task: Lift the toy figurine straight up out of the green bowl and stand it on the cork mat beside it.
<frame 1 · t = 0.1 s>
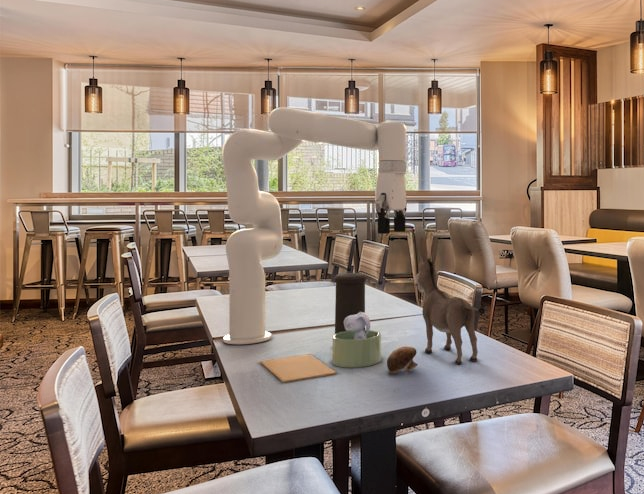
hand: (391, 232, 166), 31 cm above the table, tool pointing down, fingers open, 9 cm apart
toy figurine: (356, 360, 154), resting on green bowl
green bowl: (356, 361, 154), on the table
mat: (297, 368, 148), on the table
container: (350, 347, 169), on the table
mushroom: (401, 372, 144), on the table
toy: (448, 355, 159), on the table
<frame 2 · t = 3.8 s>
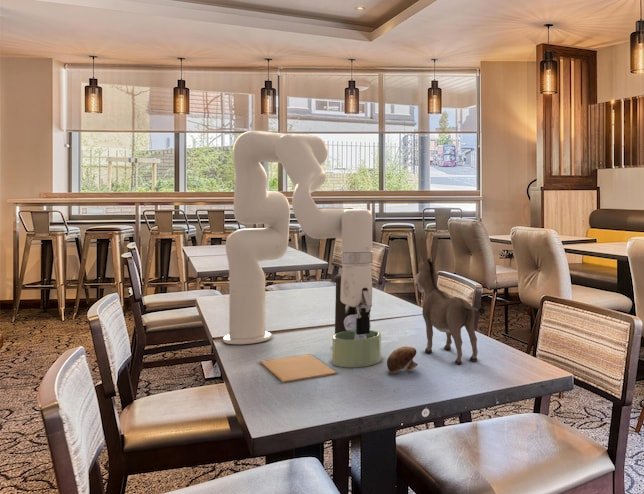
hand: (357, 330, 154), 8 cm above the table, tool pointing down, fingers closed on toy figurine, 6 cm apart
toy figurine: (356, 360, 154), resting on green bowl, touching gripper
everything else where it was.
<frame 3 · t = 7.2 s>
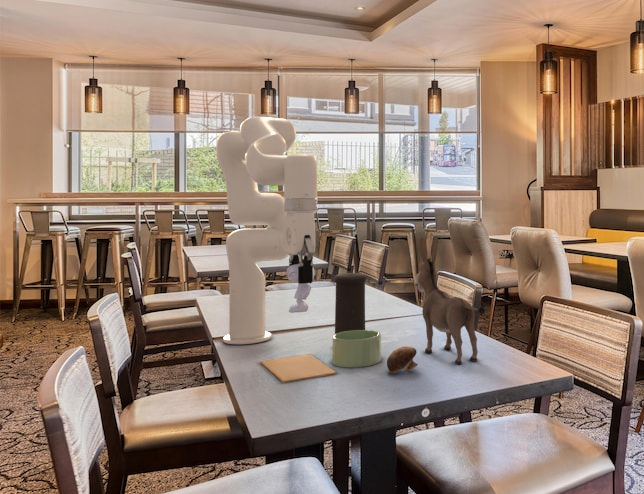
hand: (300, 280, 148), 21 cm above the table, tool pointing down, fingers closed on toy figurine, 6 cm apart
toy figurine: (300, 311, 148), point 13 cm above the table, touching gripper
everything else where it was.
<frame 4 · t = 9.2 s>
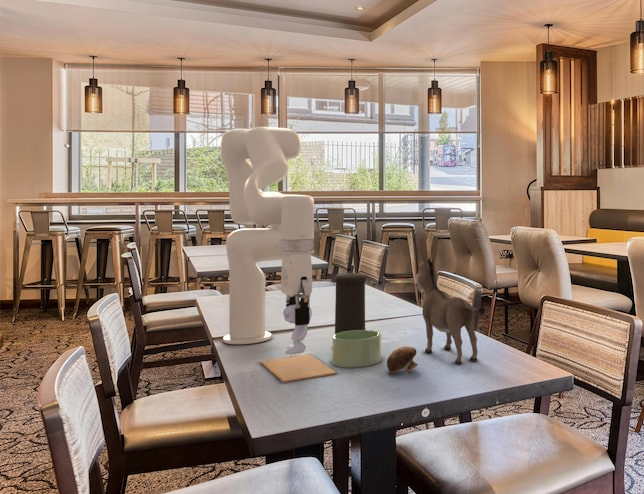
hand: (297, 321, 148), 11 cm above the table, tool pointing down, fingers closed on toy figurine, 6 cm apart
toy figurine: (297, 352, 148), point 4 cm above the table, touching gripper
everything else where it was.
when the fingers open (8 cm above the table, at t = 10.6 s): toy figurine stays where it is, resting on mat.
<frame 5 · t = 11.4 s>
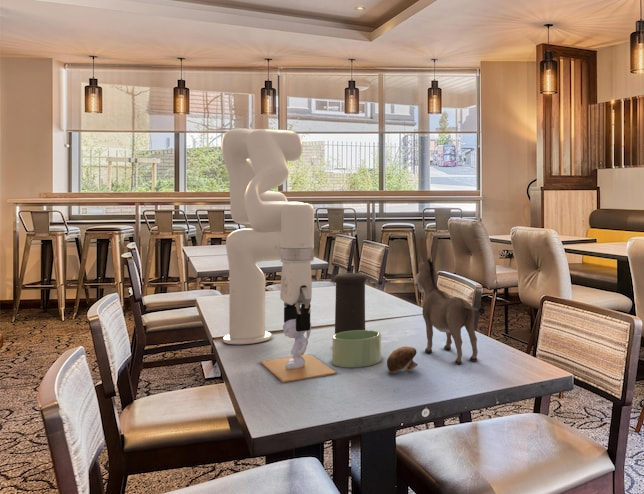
hand: (296, 326, 148), 10 cm above the table, tool pointing down, fingers open, 9 cm apart
toy figurine: (296, 367, 148), resting on mat
everything else where it was.
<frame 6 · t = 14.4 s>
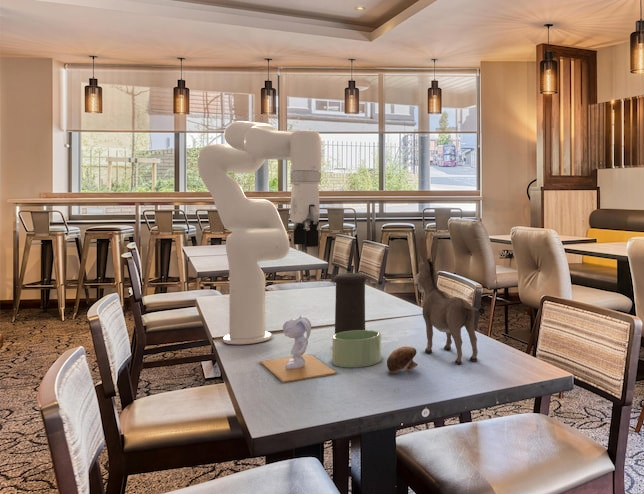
hand: (305, 245, 159), 28 cm above the table, tool pointing down, fingers open, 9 cm apart
nothing on the table moved.
at the end: toy figurine inside the target area on the mat (0.3 cm from its centre), point 0.2 cm above the mat's base; toy figurine tilted 0°; the gripper is holding nothing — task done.
